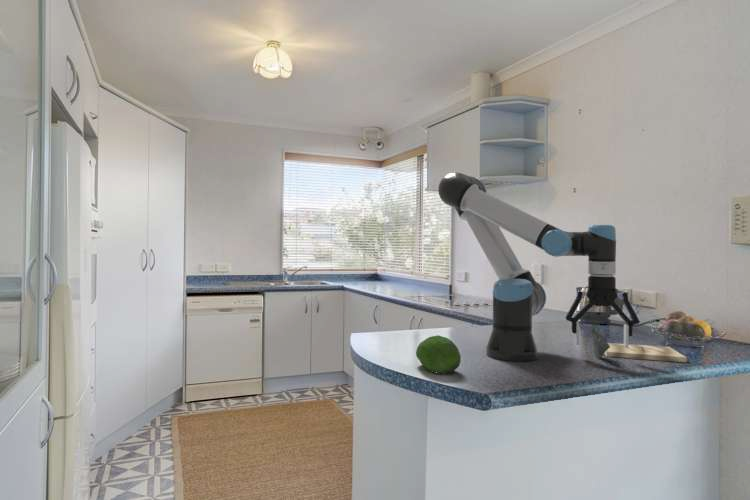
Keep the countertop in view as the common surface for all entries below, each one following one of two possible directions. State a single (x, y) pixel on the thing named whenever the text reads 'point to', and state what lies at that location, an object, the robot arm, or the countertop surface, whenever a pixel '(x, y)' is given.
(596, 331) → the stone
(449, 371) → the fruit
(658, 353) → the board
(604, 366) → the countertop surface
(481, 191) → the robot arm
